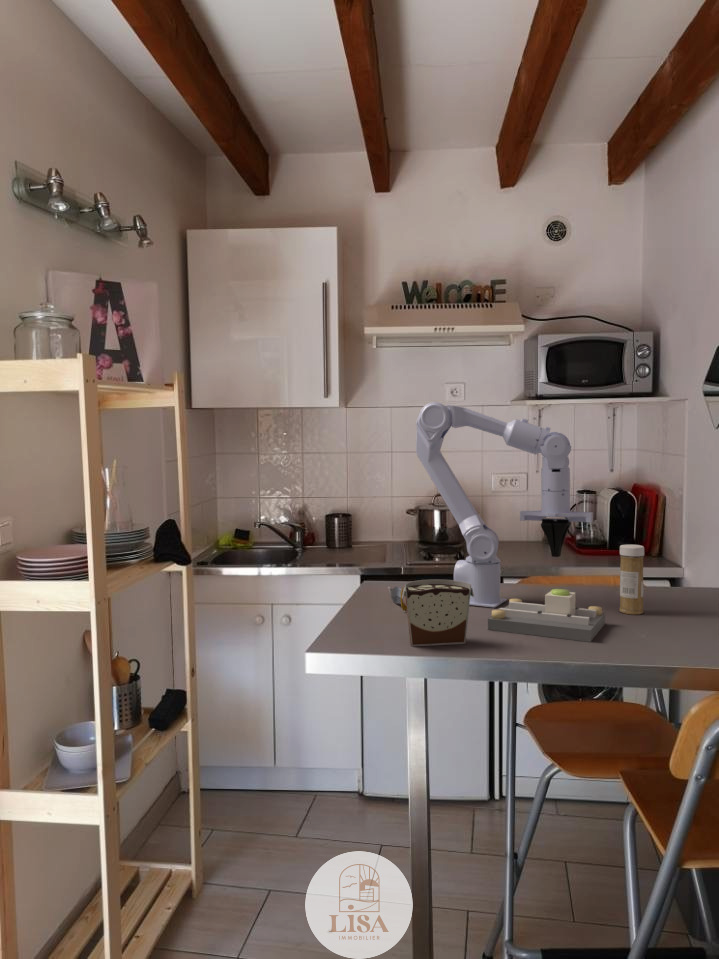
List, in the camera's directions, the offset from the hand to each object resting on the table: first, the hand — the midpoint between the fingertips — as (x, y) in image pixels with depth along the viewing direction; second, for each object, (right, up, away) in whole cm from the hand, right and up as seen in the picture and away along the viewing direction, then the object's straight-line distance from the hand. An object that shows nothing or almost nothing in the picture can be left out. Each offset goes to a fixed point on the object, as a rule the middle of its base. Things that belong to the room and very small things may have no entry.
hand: (556, 556), depth 148 cm
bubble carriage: (-4, -9, -18) cm, 20 cm away
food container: (-28, -12, -25) cm, 40 cm away
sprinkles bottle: (+13, -11, -6) cm, 18 cm away
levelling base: (-6, -11, -17) cm, 21 cm away
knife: (-32, -11, -2) cm, 34 cm away
